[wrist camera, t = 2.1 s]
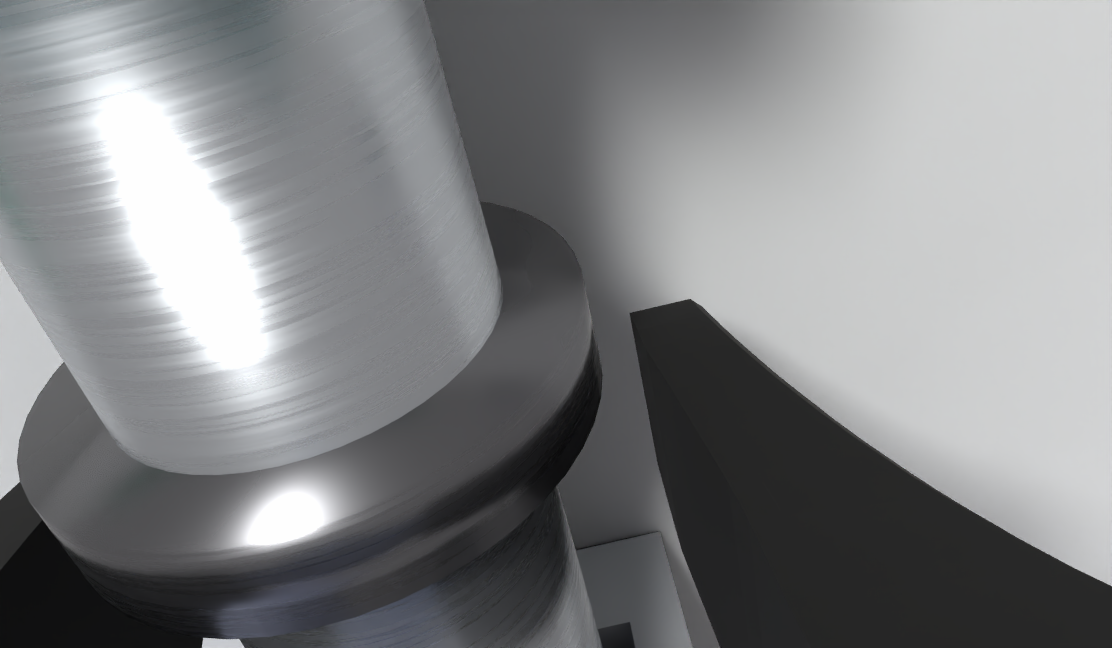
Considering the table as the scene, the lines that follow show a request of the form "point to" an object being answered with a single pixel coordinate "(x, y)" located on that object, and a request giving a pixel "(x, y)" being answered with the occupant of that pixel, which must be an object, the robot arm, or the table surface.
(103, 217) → the silver cylinder
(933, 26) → the table surface
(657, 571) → the sleeve
